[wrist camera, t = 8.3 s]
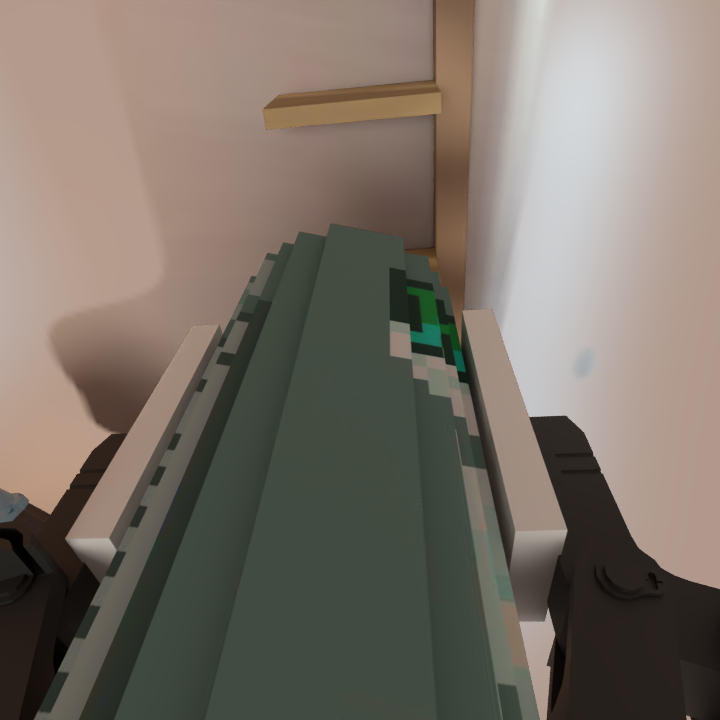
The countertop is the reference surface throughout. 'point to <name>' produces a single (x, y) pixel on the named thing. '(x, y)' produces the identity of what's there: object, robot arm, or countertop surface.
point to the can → (314, 520)
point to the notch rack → (428, 97)
